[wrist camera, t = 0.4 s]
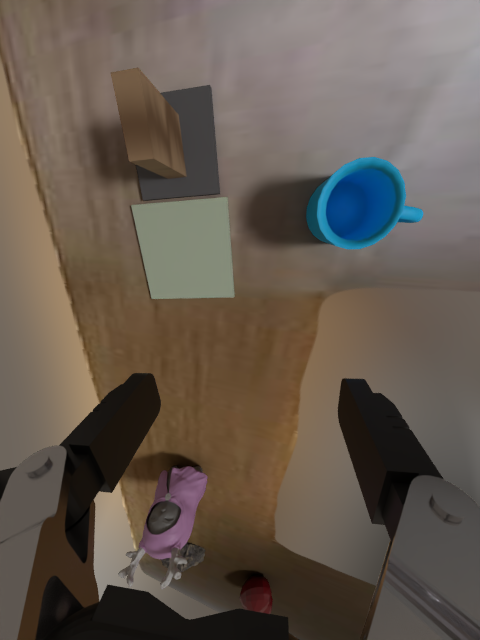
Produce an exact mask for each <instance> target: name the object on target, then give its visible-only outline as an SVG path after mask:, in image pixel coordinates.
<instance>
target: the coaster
mask: <svg viewBox="0 0 480 640" xmlns="http://www.w3.org/2000/svg"><path fill="white" fill-rule="evenodd" d="M160 94H161V95H162V96H163V97H164V98H165V99H166V101H167V102H168V103H169V104H170V105H171V106H172V108H173V109H174V110H175V111H176V112H177V114H178V115H179V122H180V130H181V138H182V145H183V153H184V161H185V169H186V176H187V177H180V178H171V179H168V178H165V177H163V176H161V175H158V174H156V173H154V172H152V171H149V170H147V169H145V168H143V167H140V166H138V165H136V168H137V173H138V178H139V183H140V188H141V193H142V198H143V200H145V201H146V200H157V199H169V198H180V197H191V196H203V195H214V194H220V188H219V176H218V163H217V151H216V139H215V127H214V115H213V103H212V91H211V86H210V85H207V86H200V87H194V88H188V89H182V90H176V91H170V92H163V93H160Z"/></svg>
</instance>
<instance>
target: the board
mask: <svg viewBox="0 0 480 640" xmlns="http://www.w3.org/2000/svg"><path fill="white" fill-rule="evenodd" d="M131 207H132V211H133V216H134V221H135V225H136V230H137V234H138V239H139V243H140V248H141V253H142V257H143V262H144V266H145V271H146V275H147V280H148V285H149V289H150V294H151V298H152V299H167V298H218V297H235V294H234V280H233V267H232V253H231V239H230V225H229V211H228V197H222V198H210V199H199V200H187V201H175V202H164V203H152V204H140V205H131Z"/></svg>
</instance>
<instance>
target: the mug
mask: <svg viewBox="0 0 480 640" xmlns="http://www.w3.org/2000/svg"><path fill="white" fill-rule="evenodd" d="M405 199H406V192H405V183H404V180H403V178H402V176H401V174H400V172H399V170H398V169H397V168H396V167H394V166H393V165H392V164H391V163H390V162H388V161H386V160H383V159H379V158H376V157H368V158H359V159H356V160H354V161H352V162H350V163H347V164H345V165H344V166H342V167H341V168H340V169H339V170H338V171H336V172H335V173H334V174H333V175H332V176H330V177H329V178H328V179H327V180H326V181H324V182H323V183H322V184H321V185H320V186H319V187H317V189H316V190H315V191H314V193H313V194H312V196H311V197H310V200H309V203H308V206H307V213H306V219H307V223H308V227H309V229H310V231H311V232H312V234H313V235H314V236H315V237H316V238H318V239H319V240H320V241H323V242H326V243H329V244H332V245H335V246H338V247H341V248H345V249H361V248H364V247H367V246H370V245H373V244H375V243H376V242H378V241H379V240H381V239H382V238H384V237H385V236H386V235H387V234H388V233H389V232H390V231H391V230H392V229H393V228H394V226H395V225H396V224H397V222H405V223H414V222H419V221H420V220H421V219H422V217H423V211H422V210H421V209H418V208H415V207H409V206H404V203H405Z"/></svg>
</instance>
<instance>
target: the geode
mask: <svg viewBox="0 0 480 640" xmlns="http://www.w3.org/2000/svg"><path fill="white" fill-rule="evenodd" d="M204 552H205V550H204V548H201V547H199V546H197V545H195V544H192V543H186V544H185V545H184V546H183V548H182V549H181V550H180V553H179V556H181V557H183V558H185V559H186V560H187V564H183V563H182V564H178V565H177V568H178V569H179V570H180V572H182V571H185V570H187V569H188V568H190V567H191V566H195V565H197V564H198V563H200V562H201V561H203V560H204V559H203V557H204V556H205V554H204ZM160 560H161V561H162V563H163V565H164V566H165V567H167V568H168V567H169V564H170V562H171V558H165V559H160Z"/></svg>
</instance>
